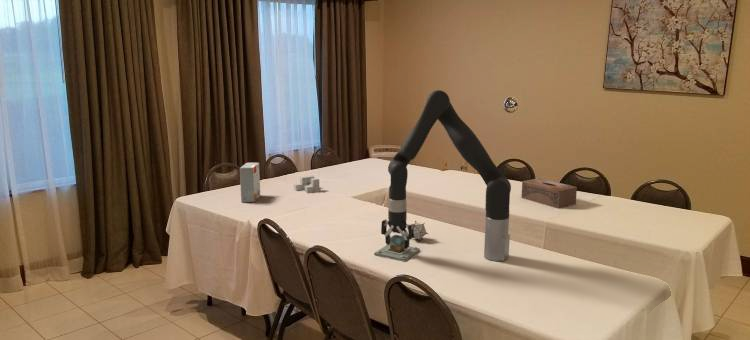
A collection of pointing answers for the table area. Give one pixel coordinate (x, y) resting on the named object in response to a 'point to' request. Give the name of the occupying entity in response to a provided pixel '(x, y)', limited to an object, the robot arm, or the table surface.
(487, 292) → the table surface
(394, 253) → the baseplate
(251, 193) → the hard drive box
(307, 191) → the grey block assembly
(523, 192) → the tissue box cover
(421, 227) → the grey faceted piece
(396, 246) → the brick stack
